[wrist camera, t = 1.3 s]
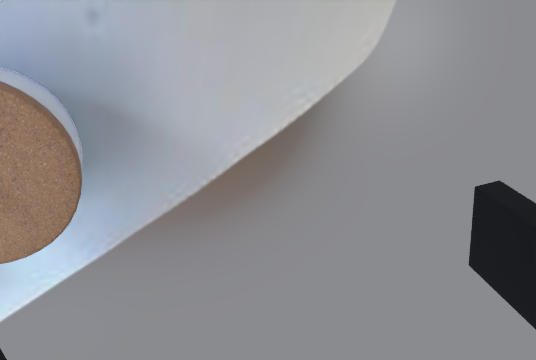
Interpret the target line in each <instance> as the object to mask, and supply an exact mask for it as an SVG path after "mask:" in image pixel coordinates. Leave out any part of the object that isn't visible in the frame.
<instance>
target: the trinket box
mask: <svg viewBox="0 0 536 360" xmlns="http://www.w3.org/2000/svg"><path fill="white" fill-rule="evenodd" d="M82 170H83V156H82V146H81V141H80V138H79V134H78V131H77V129H76V126H75V124H74V122H73V120H72V118H71V116H70V115H69V113H68V112H67V110H66V109H65V107H64V106H63V105H62V103H61V102H60V101H59V100H58V99H57V98H56V97H55V96H54V95H53V94H52V93H51V92H50V91H48V90H47V89H46V88H45V87H44V86H42V85H40V84H39V83H37V82H36V81H34V80H33V79H31V78H29V77H27V76H25V75H22V74H20V73H18V72H16V71H12V70H9V69H6V68H3V67H0V264H3V263H8V262H12V261H15V260H18V259H22V258H25V257H27V256H29V255H31V254H33V253H35V252H38V251H40V250H41V249H43V248H44V247H46V246H47V245H49V244H50V243H52V242H53V241H54V240H55V239H56V238H57V237H58V236H59V235H60V234H61V233H62V232H63V231H64V229H65V228H66V227H67V225H68V224H69V223H70V221H71V219H72V217H73V215H74V213H75V211H76V209H77V205H78V202H79V199H80V195H81V186H82Z"/></svg>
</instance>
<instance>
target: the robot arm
mask: <svg viewBox="0 0 536 360" xmlns="http://www.w3.org/2000/svg"><path fill="white" fill-rule="evenodd" d="M469 266H470V267H471V268H472V269H473V270H474V271H475V272H477V273H478V274H479V275H480V276H481V277H482V278H483V279H484V280H485V281H486V282H487V283H488V284H489V285H490V286H491V287H492V288H493V289H494V290H495V291H497V293H498V294H499V295H500V296H501V297H502V298H504V299H505V300H506V301H507V302H508V303H509V304H510V305H511V306H512V307H513V308H514V309H515V310H516V311H517V312H518V313H519V314H520V315H521V316H522V317H523V318H524V319H526V320H527V322H529V323H530V324H531V325H532V326H533V327H534V328H535V329H536V203H534V202H533V201H531V200H530V199H527V198H526V197H525V196H523V195H522V194H520V193H518V192H517V191H515V190H514V189H512V188H510V187H509V186H507V185H506V184H504V183H503V182H501V181H496V182H492V183H488V184H484V185H480V186H476V187H475V193H474V205H473V218H472V231H471V243H470V256H469ZM0 360H7V359H6V358H5V356H4V354H3V353H2V351H1V349H0Z"/></svg>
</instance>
